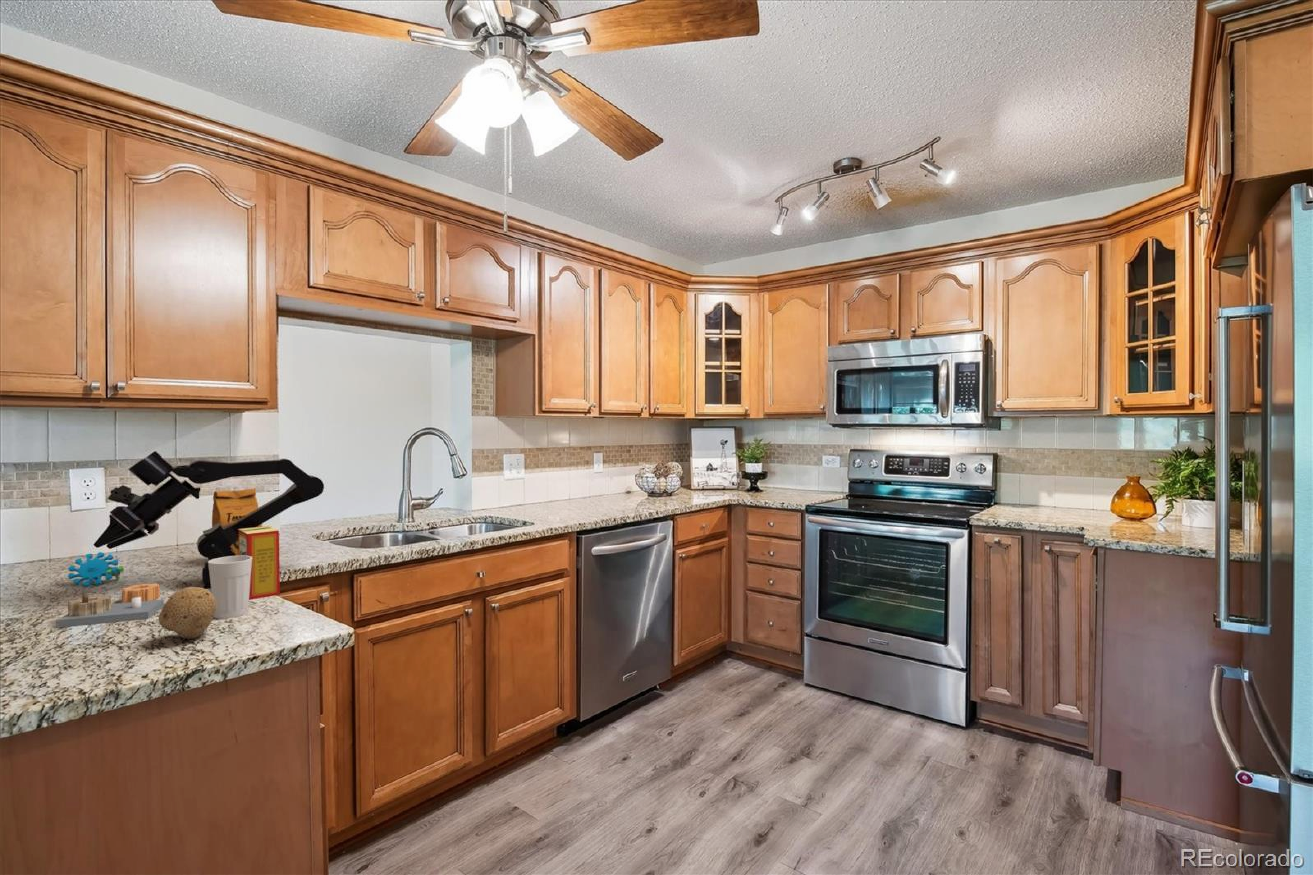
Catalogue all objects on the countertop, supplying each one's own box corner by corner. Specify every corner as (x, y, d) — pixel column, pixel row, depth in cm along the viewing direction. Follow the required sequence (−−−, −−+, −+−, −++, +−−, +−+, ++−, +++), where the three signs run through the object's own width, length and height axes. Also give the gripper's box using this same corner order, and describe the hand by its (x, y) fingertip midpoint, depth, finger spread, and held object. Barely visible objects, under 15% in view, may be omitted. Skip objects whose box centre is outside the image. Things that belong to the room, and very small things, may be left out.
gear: (59, 583, 157) (77, 549, 164) (64, 595, 161) (82, 562, 168) (114, 585, 161) (129, 552, 168) (118, 597, 165) (133, 564, 172)
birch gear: (116, 605, 139) (116, 584, 139) (103, 614, 133) (103, 592, 132) (76, 608, 136) (76, 588, 136) (61, 618, 130) (60, 596, 130)
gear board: (163, 605, 143) (163, 590, 143) (148, 618, 134) (148, 602, 134) (79, 613, 138) (79, 597, 138) (57, 627, 128) (57, 610, 128)
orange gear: (163, 594, 153) (163, 582, 153) (154, 602, 146) (153, 589, 146) (128, 597, 150) (128, 585, 150) (116, 605, 144) (116, 592, 144)
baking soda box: (279, 594, 153) (278, 529, 153) (248, 600, 148) (247, 532, 148) (269, 587, 160) (268, 524, 159) (239, 592, 155) (238, 527, 155)
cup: (261, 610, 140) (260, 557, 140) (226, 621, 133) (225, 564, 132) (235, 607, 143) (234, 554, 142) (200, 617, 135) (199, 561, 135)
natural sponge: (152, 649, 116) (151, 595, 116) (167, 634, 125) (166, 584, 124) (211, 642, 120) (210, 590, 120) (222, 628, 128) (221, 579, 128)
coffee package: (267, 563, 187) (266, 489, 186) (217, 570, 178) (215, 492, 177) (258, 558, 194) (257, 486, 193) (209, 564, 185) (208, 489, 184)
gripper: (146, 480, 161) (86, 525, 154) (125, 470, 145) (56, 520, 138) (182, 511, 163) (124, 556, 156) (165, 504, 147) (99, 555, 140)
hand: (101, 547), depth 148 cm, fingers open, 9 cm apart
